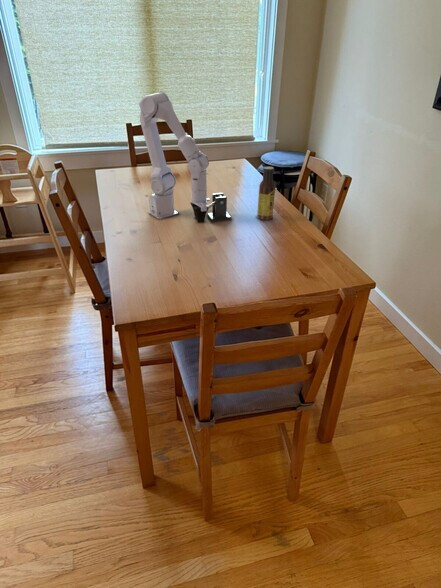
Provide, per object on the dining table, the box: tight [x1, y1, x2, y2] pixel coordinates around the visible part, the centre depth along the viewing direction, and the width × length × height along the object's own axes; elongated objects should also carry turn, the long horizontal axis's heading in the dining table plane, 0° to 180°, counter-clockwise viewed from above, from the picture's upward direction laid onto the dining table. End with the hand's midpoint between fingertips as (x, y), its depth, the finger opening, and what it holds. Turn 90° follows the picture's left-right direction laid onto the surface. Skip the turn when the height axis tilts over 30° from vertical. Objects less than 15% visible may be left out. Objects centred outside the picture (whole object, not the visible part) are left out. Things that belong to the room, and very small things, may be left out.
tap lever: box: [206, 195, 222, 209], centre depth 158 cm, size 12×3×3 cm, turn 107°
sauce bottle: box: [257, 166, 276, 221], centre depth 157 cm, size 7×6×20 cm
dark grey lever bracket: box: [207, 192, 232, 223], centre depth 160 cm, size 8×6×9 cm
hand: (199, 221), depth 161 cm, fingers open, 3 cm apart
